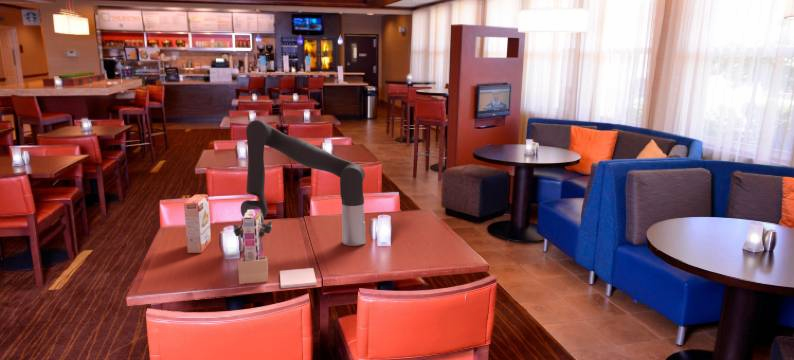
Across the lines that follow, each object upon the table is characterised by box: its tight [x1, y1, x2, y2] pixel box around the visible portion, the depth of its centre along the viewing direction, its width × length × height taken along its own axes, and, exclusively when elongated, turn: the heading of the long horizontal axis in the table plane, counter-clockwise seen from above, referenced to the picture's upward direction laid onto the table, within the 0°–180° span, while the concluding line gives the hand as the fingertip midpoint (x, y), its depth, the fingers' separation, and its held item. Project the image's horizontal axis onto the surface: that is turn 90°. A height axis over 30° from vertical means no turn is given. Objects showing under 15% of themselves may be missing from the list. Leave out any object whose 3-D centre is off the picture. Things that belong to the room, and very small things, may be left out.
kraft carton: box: [237, 255, 269, 285], centre depth 193 cm, size 10×19×8 cm, turn 14°
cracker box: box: [183, 194, 212, 254], centre depth 216 cm, size 14×6×21 cm, turn 3°
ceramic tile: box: [279, 267, 318, 289], centre depth 188 cm, size 12×13×1 cm
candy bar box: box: [241, 209, 264, 261], centre depth 189 cm, size 11×5×16 cm, turn 5°
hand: (252, 235), depth 186 cm, fingers closed on candy bar box, 5 cm apart
